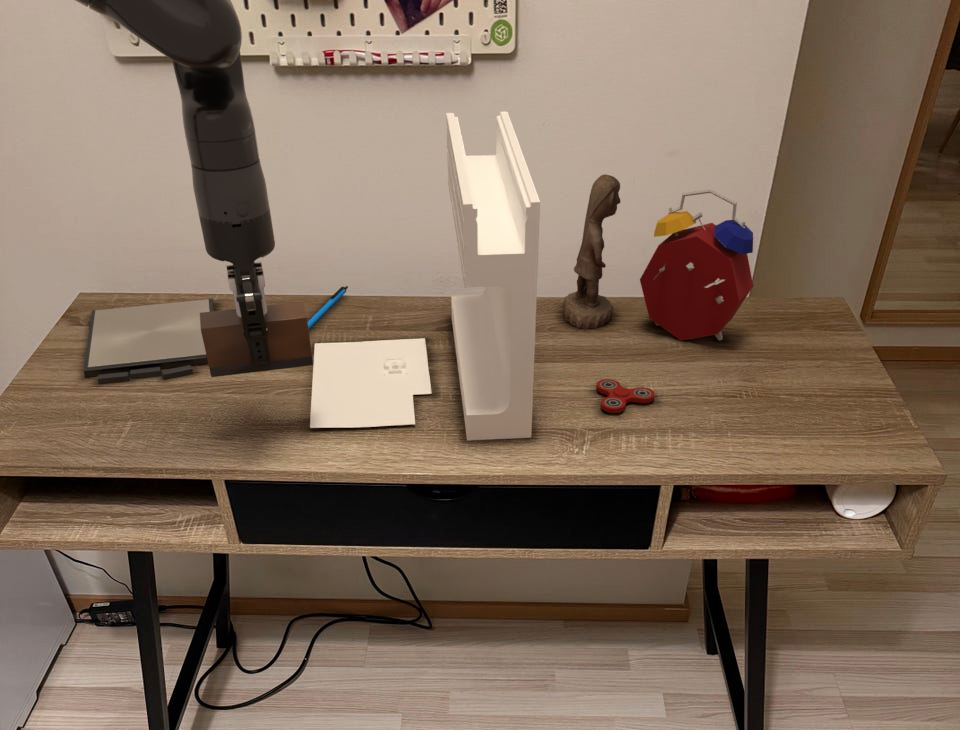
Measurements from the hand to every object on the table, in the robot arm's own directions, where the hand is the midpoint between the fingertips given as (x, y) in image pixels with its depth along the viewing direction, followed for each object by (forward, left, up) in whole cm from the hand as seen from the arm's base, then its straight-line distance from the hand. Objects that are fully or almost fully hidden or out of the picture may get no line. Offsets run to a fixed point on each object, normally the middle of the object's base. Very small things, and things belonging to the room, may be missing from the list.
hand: (260, 355), depth 111 cm
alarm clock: (+61, +12, -10) cm, 63 cm away
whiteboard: (-15, +30, -10) cm, 35 cm away
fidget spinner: (+45, -3, -10) cm, 46 cm away
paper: (+14, +9, -10) cm, 19 cm away
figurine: (+49, +22, -10) cm, 55 cm away
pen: (+10, +33, -10) cm, 36 cm away
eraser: (0, 0, -1) cm, 1 cm away
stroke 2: (-16, +18, -9) cm, 26 cm away
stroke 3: (-12, +18, -9) cm, 23 cm away
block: (+30, +8, -10) cm, 33 cm away
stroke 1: (-20, +18, -9) cm, 28 cm away
